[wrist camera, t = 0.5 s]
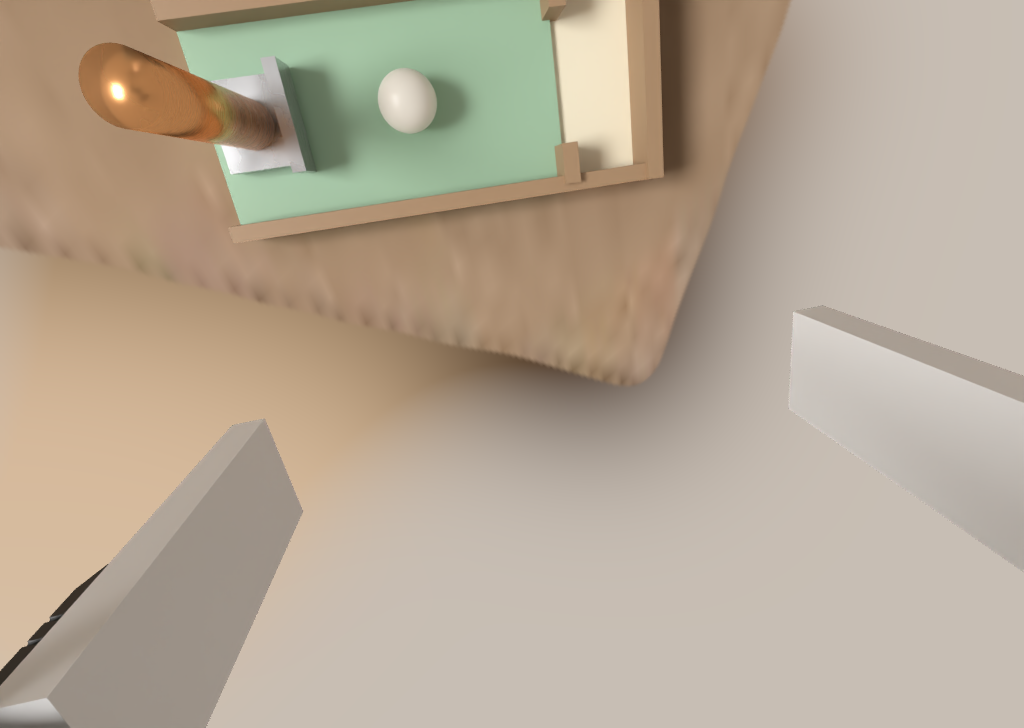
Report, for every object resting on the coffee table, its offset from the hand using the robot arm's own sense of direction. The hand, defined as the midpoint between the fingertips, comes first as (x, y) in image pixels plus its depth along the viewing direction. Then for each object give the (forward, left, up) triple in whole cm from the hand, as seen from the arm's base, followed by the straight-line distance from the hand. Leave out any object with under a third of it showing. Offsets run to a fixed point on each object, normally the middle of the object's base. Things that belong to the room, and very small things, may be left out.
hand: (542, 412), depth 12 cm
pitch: (-11, -2, -26) cm, 28 cm away
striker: (-11, -12, -24) cm, 29 cm away
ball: (-11, -3, -23) cm, 25 cm away
